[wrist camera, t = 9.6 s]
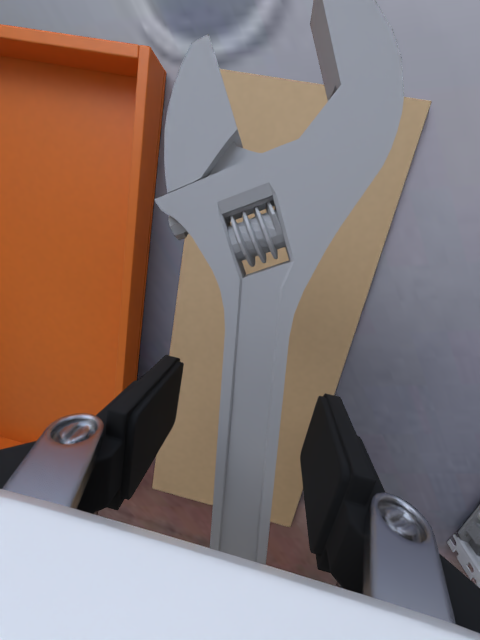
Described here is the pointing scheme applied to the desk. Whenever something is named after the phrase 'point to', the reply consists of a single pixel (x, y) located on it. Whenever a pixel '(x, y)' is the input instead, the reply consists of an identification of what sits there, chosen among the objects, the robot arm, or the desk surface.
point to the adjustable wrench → (273, 230)
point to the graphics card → (474, 534)
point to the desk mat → (311, 313)
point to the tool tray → (72, 221)
